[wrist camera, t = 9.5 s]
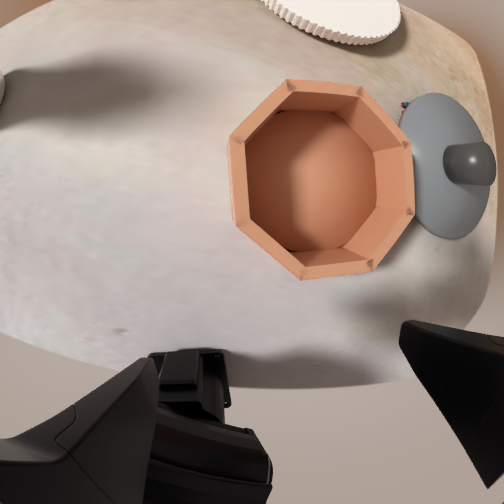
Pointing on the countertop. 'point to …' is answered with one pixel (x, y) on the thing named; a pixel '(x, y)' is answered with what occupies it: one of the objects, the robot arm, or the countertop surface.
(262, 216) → the bowl
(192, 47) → the countertop surface
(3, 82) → the plastic bottle
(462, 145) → the cover
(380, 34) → the plastic lid
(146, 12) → the countertop surface
